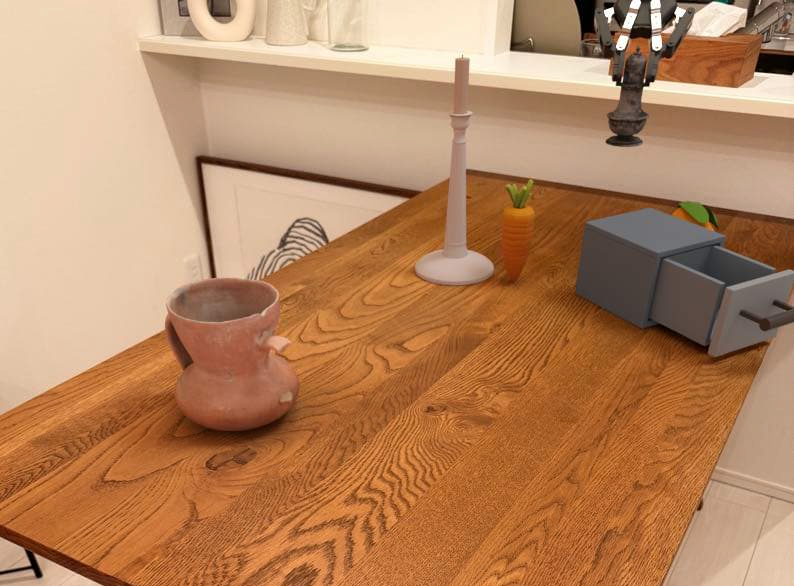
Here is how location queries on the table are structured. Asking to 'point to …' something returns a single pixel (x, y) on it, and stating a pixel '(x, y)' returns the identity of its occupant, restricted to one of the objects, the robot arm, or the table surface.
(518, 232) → the carrot
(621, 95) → the salt shaker
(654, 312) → the drawer
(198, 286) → the ceramic jug
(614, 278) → the cabinet
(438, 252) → the candlestick
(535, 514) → the table surface
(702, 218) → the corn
